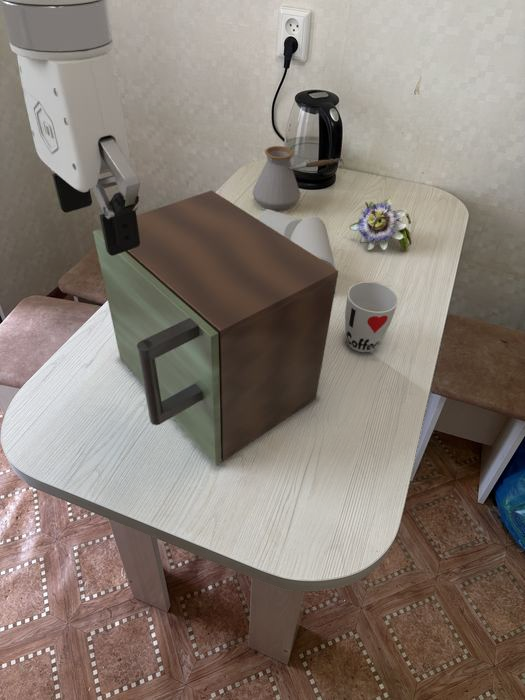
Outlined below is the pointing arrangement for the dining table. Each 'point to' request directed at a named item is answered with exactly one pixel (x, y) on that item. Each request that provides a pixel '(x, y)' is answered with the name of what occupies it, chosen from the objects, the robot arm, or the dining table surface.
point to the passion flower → (382, 225)
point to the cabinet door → (165, 349)
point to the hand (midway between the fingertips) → (99, 227)
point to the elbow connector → (301, 233)
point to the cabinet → (245, 306)
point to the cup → (368, 314)
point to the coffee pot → (281, 179)
